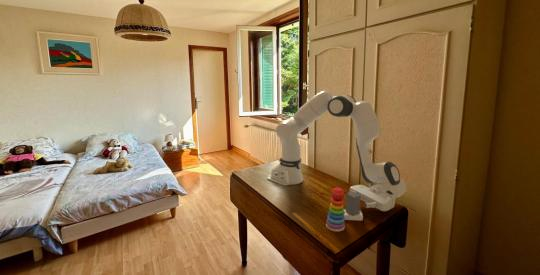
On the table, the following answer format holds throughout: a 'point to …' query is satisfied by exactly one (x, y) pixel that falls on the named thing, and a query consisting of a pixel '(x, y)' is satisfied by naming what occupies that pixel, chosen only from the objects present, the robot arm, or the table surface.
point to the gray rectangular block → (353, 203)
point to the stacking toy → (336, 211)
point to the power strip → (350, 217)
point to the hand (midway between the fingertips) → (357, 201)
